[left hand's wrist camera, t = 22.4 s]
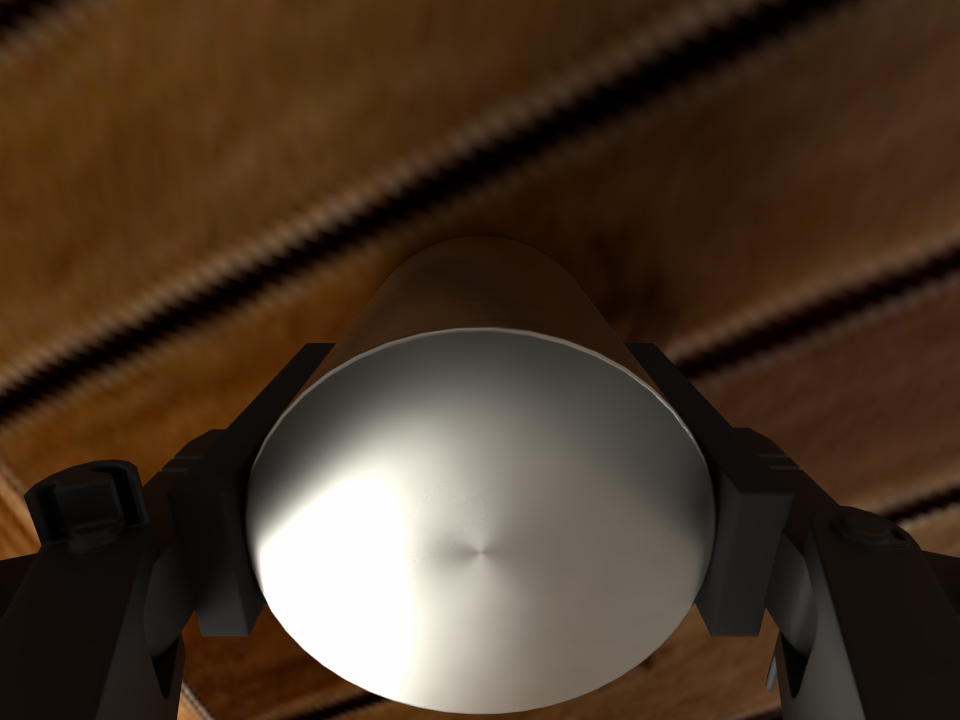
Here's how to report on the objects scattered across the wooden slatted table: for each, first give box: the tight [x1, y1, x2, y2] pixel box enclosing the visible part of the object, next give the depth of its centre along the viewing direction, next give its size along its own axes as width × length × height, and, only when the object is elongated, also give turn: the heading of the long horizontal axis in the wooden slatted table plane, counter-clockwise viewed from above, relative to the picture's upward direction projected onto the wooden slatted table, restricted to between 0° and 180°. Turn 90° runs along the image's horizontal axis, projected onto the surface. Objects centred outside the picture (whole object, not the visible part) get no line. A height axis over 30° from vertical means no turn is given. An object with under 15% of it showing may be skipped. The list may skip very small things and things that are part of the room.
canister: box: [243, 236, 717, 714], centre depth 12 cm, size 7×7×9 cm
